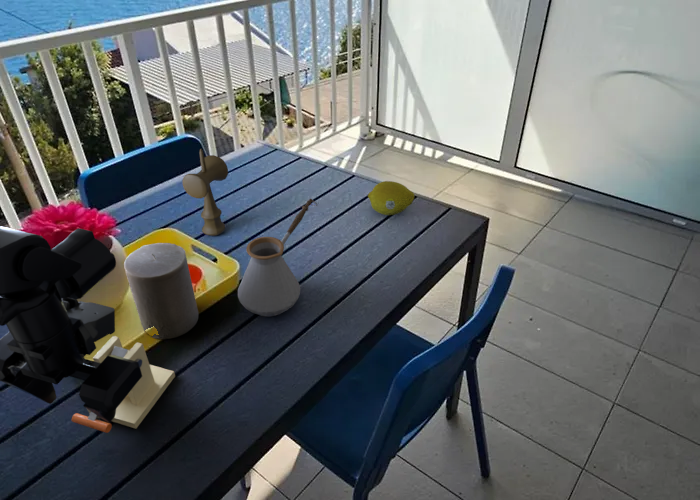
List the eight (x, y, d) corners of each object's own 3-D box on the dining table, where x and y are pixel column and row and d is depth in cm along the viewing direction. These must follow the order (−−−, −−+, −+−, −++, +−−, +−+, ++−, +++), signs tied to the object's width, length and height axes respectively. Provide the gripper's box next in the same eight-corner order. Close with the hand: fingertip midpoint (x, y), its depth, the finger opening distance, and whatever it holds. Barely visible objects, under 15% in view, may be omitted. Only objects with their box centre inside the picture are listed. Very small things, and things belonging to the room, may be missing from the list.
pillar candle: (160, 348, 84) (140, 279, 75) (132, 319, 89) (110, 252, 80) (210, 319, 90) (196, 252, 81) (180, 294, 95) (164, 228, 86)
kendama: (236, 222, 115) (225, 141, 103) (215, 245, 108) (202, 161, 96) (212, 217, 116) (199, 137, 105) (191, 240, 109) (174, 156, 97)
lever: (111, 433, 68) (101, 431, 66) (78, 423, 69) (67, 420, 67) (146, 356, 72) (137, 352, 70) (113, 347, 74) (104, 343, 72)
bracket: (136, 428, 71) (119, 384, 66) (89, 414, 73) (68, 370, 67) (175, 376, 79) (163, 332, 73) (132, 364, 81) (117, 320, 75)
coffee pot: (277, 332, 87) (271, 265, 78) (226, 309, 92) (215, 243, 83) (338, 267, 103) (339, 205, 94) (291, 250, 107) (288, 189, 98)
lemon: (363, 216, 118) (364, 187, 114) (372, 200, 125) (374, 172, 120) (407, 225, 116) (410, 195, 111) (414, 209, 122) (418, 179, 117)
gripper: (155, 297, 60) (178, 380, 70) (29, 266, 64) (67, 349, 74) (91, 365, 52) (127, 450, 61) (-49, 325, 56) (5, 410, 65)
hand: (81, 409), depth 65 cm, fingers open, 9 cm apart
